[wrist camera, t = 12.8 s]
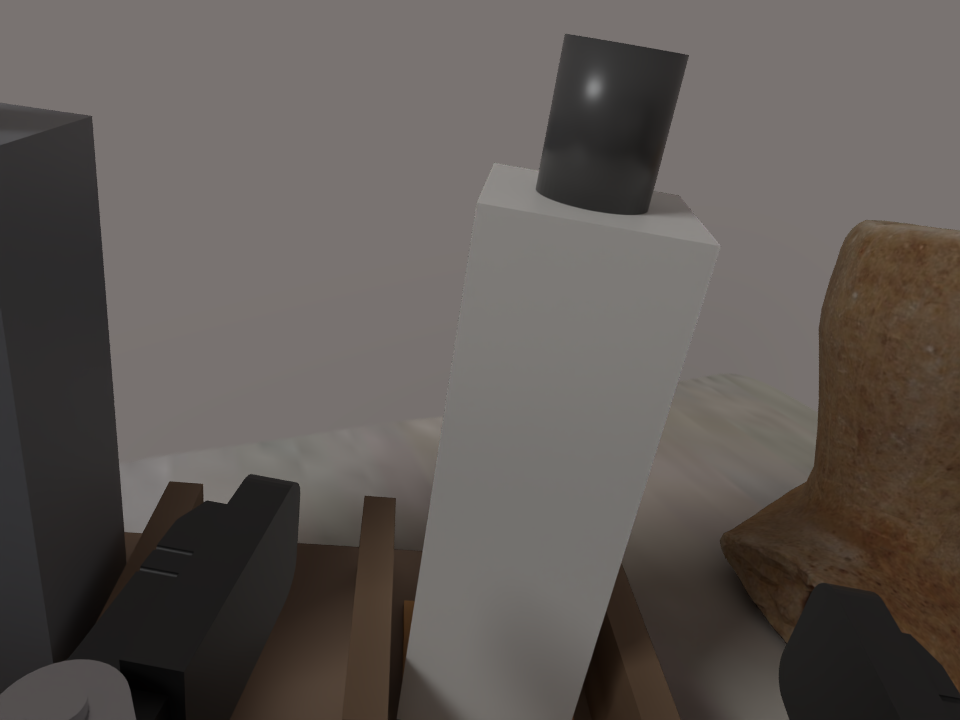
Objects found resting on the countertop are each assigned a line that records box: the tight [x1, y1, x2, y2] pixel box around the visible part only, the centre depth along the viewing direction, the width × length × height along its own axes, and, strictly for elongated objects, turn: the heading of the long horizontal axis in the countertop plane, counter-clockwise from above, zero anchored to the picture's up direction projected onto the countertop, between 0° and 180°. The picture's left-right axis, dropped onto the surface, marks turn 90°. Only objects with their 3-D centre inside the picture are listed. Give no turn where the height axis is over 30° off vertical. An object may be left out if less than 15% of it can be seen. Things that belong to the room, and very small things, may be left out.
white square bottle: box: [397, 34, 720, 720], centre depth 17 cm, size 4×4×17 cm
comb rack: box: [97, 482, 681, 720], centre depth 19 cm, size 22×10×4 cm, turn 95°
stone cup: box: [720, 220, 960, 693], centre depth 26 cm, size 15×12×15 cm
